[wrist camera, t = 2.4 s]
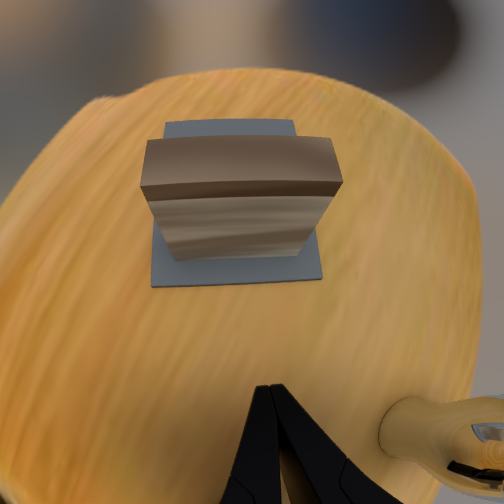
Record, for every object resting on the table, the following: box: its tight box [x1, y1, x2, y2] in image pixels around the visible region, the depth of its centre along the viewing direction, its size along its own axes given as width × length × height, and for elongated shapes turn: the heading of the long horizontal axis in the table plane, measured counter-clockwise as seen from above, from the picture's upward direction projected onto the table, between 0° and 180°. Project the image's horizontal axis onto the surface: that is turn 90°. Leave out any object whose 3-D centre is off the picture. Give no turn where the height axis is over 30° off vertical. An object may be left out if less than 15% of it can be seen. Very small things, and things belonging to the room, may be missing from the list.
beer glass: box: [379, 394, 504, 503], centre depth 13 cm, size 7×7×15 cm
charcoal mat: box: [151, 119, 323, 288], centre depth 26 cm, size 18×14×1 cm
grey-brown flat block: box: [140, 135, 343, 261], centre depth 19 cm, size 3×10×11 cm, turn 94°
